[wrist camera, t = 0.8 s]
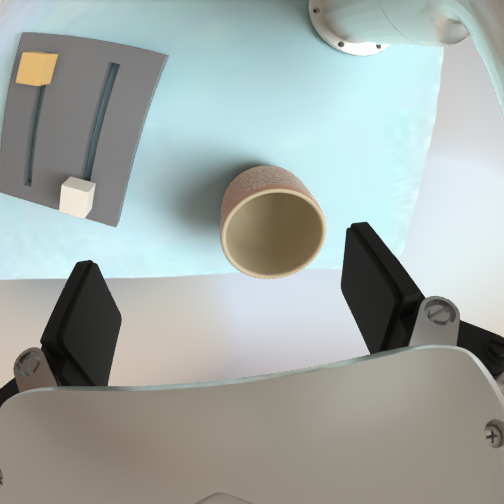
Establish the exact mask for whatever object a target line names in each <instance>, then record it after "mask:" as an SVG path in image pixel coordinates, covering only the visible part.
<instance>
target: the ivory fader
mask: <svg viewBox="0 0 504 504" xmlns="http://www.w3.org/2000/svg"><path fill="white" fill-rule="evenodd" d="M95 185H96V183H93V182H89V181H86V180H82V179H79V178H75V177H71V176H70V177H69V178H68V179H67V180H66V181H65V182H64V183H63V184H62V187H61V196H60V206H59V212H62V213H66V214H69V215H72V216H76V217H79V218H82V219H85V217H86V216H87V215H88V213H89V212H90V210H91V209H92V203H93V197H94V191H95Z"/></svg>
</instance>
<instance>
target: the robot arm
mask: <svg viewBox="0 0 504 504" xmlns="http://www.w3.org/2000/svg"><path fill="white" fill-rule="evenodd" d="M308 10H309V16H310V19H311V22H312V24H313V26H314V28H315V30H316V31H317V33H318V34H319V35H320V36H321V37H322V39H323V40H324V41H326V42H327V43H328V44H329V45H330V46H332V47H334V48H335V49H337V50H339V51H341V52H344V53H346V54H351V55H357V56H368V55H373V54H377V53H379V52H381V51H383V50H384V49H385V48H387V47H388V46H389V45H416V46H433V47H446V46H451V45H454V44H457V43H459V42H461V41H462V40H464V39H465V38H466V37H467V36H468V35H470V36H471V38H472V40H473V41H474V44H475V46H476V48H477V50H478V52H479V54H480V55H481V57H482V59H483V62H484V64H485V66H486V69H487V71H488V74H489V76H490V79H491V81H492V84H493V87H494V90H495V92H496V95H497V98H498V101H499V104H500V107H501V110H502V113H503V116H504V0H309V2H308ZM313 10H316V13H315V12H314V11H313ZM338 43H340V46H338ZM376 45H377V48H376ZM341 290H342V293H343V295H344V298H345V300H346V302H347V304H348V306H349V308H350V310H351V312H352V314H353V317H354V319H355V321H356V323H357V325H358V328H359V329H360V332H361V334H362V336H363V338H364V341H365V343H366V345H367V348H368V350H369V352H370V355H366V356H362V357H357V358H353V359H348V360H343V361H339V362H334V363H329V364H324V365H319V366H314V367H308V368H303V369H297V370H292V371H285V372H279V373H273V374H266V375H259V376H253V377H244V378H236V379H228V380H218V381H208V382H197V383H185V384H170V385H151V386H109V387H108V380H109V375H110V370H111V365H112V361H113V356H114V351H115V347H116V343H117V338H118V334H119V330H120V326H121V321H122V319H121V314H120V312H119V310H118V308H117V306H116V304H115V301H114V299H113V297H112V295H111V293H110V291H109V289H108V287H107V285H106V283H105V280H104V278H103V276H102V274H101V271H100V269H99V267H98V265H97V264H96V263H93V261H91V260H87V261H81V262H77V263H76V265H75V267H74V269H73V271H72V273H71V274H70V276H69V278H68V280H67V282H66V284H65V287H64V288H63V291H62V293H61V295H60V297H59V299H58V301H57V303H56V306H55V308H54V310H53V312H52V314H51V316H50V319H49V321H48V323H47V326H46V328H45V330H44V333H43V335H42V338H41V340H40V342H41V344H42V347H41V349H39V348H36V347H33V348H29V349H27V350H25V351H23V352H22V353H21V354H20V355H19V356H18V358H17V359H16V361H15V364H14V375H15V377H14V379H12V380H11V381H9V382H8V383H7V384H6V385H4V386H3V387H2V388H1V389H0V504H504V338H503V337H501V336H500V335H497V334H495V333H492V332H490V331H487V330H484V329H482V328H479V327H477V326H474V325H472V324H469V323H466V322H464V321H461V320H460V313H459V310H458V308H457V307H456V306H455V304H454V303H452V302H451V301H450V300H448V299H446V298H443V297H439V296H431V297H428V298H425V297H424V295H423V294H422V293H421V291H420V289H419V288H418V287H417V285H416V284H415V282H414V281H413V280H412V278H411V277H410V276H409V274H408V273H407V272H406V270H405V269H404V267H403V266H402V265H401V264H400V262H399V261H398V260H397V258H396V257H395V256H394V255H393V254H392V253H391V251H390V250H389V249H388V247H387V246H386V245H385V243H384V242H383V241H382V240H381V238H380V237H379V236H378V235H377V233H376V232H375V231H374V230H373V228H372V227H371V226H370V225H369V223H367V222H360V223H352V224H351V227H350V228H347V230H346V240H345V251H344V261H343V271H342V278H341Z"/></svg>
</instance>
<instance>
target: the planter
mask: <svg viewBox="0 0 504 504" xmlns="http://www.w3.org/2000/svg"><path fill="white" fill-rule="evenodd" d="M325 235H326V223H325V219H324V215H323V213H322V210H321V208H320V206H319V205H318V203H317V202H316V200H315V199H314V198H313V196H312V195H311V194H310V192H309V191H308V190H307V189H306V187H305V186H304V184H303V183H302V182H301V181H300V180H299V179H298V178H297V177H296V176H295V175H294V174H292V173H291V172H289V171H287V170H285V169H283V168H280V167H276V166H268V165H266V166H257V167H253V168H250V169H248V170H246V171H244V172H242V173H241V174H239V175H238V176H237V177H235V178H234V179H233V180H232V182H231V183H230V184H229V186H228V187H227V189H226V191H225V193H224V196H223V200H222V204H221V218H220V241H221V246H222V249H223V252H224V254H225V256H226V258H227V259H228V261H229V262H230V263H231V264H232V265H233V266H234V267H235V268H236V269H237V270H239V271H240V272H242V273H244V274H246V275H249V276H252V277H255V278H261V279H276V278H282V277H286V276H289V275H292V274H294V273H296V272H298V271H300V270H302V269H303V268H305V267H306V266H307V265H308V264H310V263H311V262H312V261H313V260H314V258H315V257H316V256H317V255H318V253H319V252H320V250H321V248H322V246H323V243H324V240H325Z"/></svg>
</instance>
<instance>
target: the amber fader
mask: <svg viewBox="0 0 504 504" xmlns="http://www.w3.org/2000/svg"><path fill="white" fill-rule="evenodd" d="M57 57H58V54H54V53H46V52H37V51H32V52H23V54H22V58H21V61H20V65H19V70H18V74H17V78H16V83H21V84H28V85H34V86H42V85H46V84H50V83H51V79H52V75H53V71H54V67H55V64H56V60H57Z"/></svg>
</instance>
